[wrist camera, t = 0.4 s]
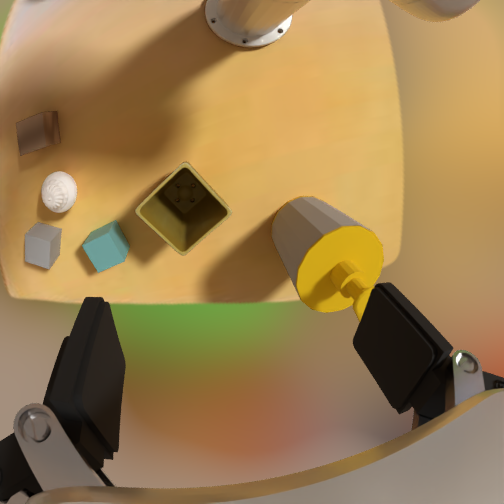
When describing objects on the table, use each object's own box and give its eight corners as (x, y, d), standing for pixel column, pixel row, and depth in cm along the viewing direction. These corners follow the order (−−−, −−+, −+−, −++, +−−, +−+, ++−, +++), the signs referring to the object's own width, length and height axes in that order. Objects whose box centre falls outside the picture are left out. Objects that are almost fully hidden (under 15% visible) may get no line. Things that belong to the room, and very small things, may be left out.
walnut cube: (32, 120, 29) (16, 123, 25) (57, 111, 30) (42, 112, 26) (35, 150, 32) (20, 156, 27) (60, 142, 32) (46, 146, 28)
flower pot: (143, 191, 39) (132, 211, 32) (186, 151, 38) (185, 160, 30) (183, 230, 44) (182, 257, 36) (225, 193, 42) (234, 213, 34)
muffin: (81, 208, 38) (64, 225, 32) (49, 200, 36) (30, 216, 30) (87, 170, 36) (70, 182, 30) (54, 163, 33) (33, 173, 27)
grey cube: (38, 221, 37) (25, 234, 32) (61, 228, 38) (50, 241, 34) (37, 247, 39) (25, 261, 34) (59, 254, 40) (49, 269, 36)
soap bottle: (271, 269, 50) (316, 358, 32) (260, 200, 44) (314, 270, 26) (337, 251, 52) (403, 323, 33) (335, 184, 45) (419, 238, 27)
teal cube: (91, 232, 40) (81, 245, 36) (116, 219, 40) (108, 232, 36) (105, 257, 43) (98, 272, 38) (130, 246, 43) (124, 261, 38)
